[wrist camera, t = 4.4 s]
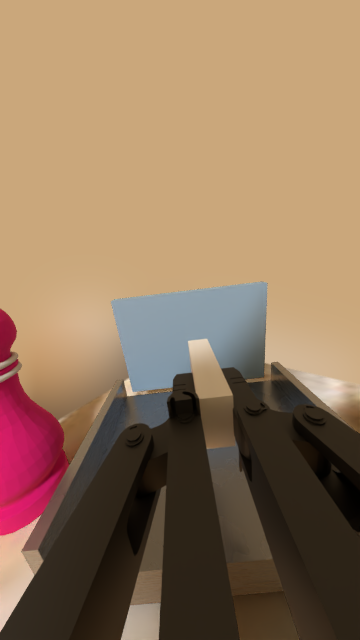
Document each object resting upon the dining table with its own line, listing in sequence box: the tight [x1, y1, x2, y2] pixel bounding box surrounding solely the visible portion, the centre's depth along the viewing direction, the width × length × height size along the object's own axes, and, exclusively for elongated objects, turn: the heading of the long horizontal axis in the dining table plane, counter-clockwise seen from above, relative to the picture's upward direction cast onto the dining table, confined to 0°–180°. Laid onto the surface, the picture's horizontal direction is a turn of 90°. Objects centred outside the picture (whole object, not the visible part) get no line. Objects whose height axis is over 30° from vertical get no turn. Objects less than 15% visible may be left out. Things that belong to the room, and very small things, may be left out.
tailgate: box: [111, 282, 267, 392], centre depth 22 cm, size 17×2×12 cm, turn 91°
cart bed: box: [21, 362, 354, 605], centre depth 16 cm, size 22×14×6 cm, turn 91°
